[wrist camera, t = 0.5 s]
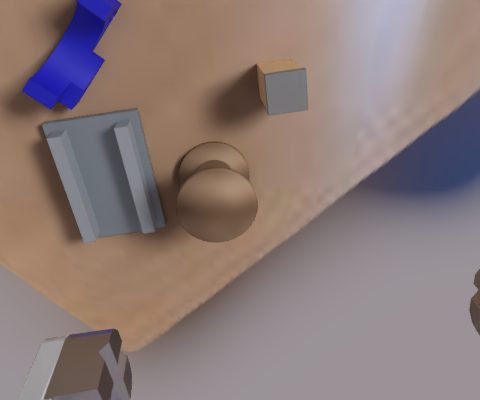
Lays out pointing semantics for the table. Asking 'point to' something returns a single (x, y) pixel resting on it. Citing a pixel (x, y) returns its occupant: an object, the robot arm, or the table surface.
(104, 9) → the blue curved block
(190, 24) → the table surface
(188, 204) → the door knob
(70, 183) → the grey channel bracket
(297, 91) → the grey and tan block
